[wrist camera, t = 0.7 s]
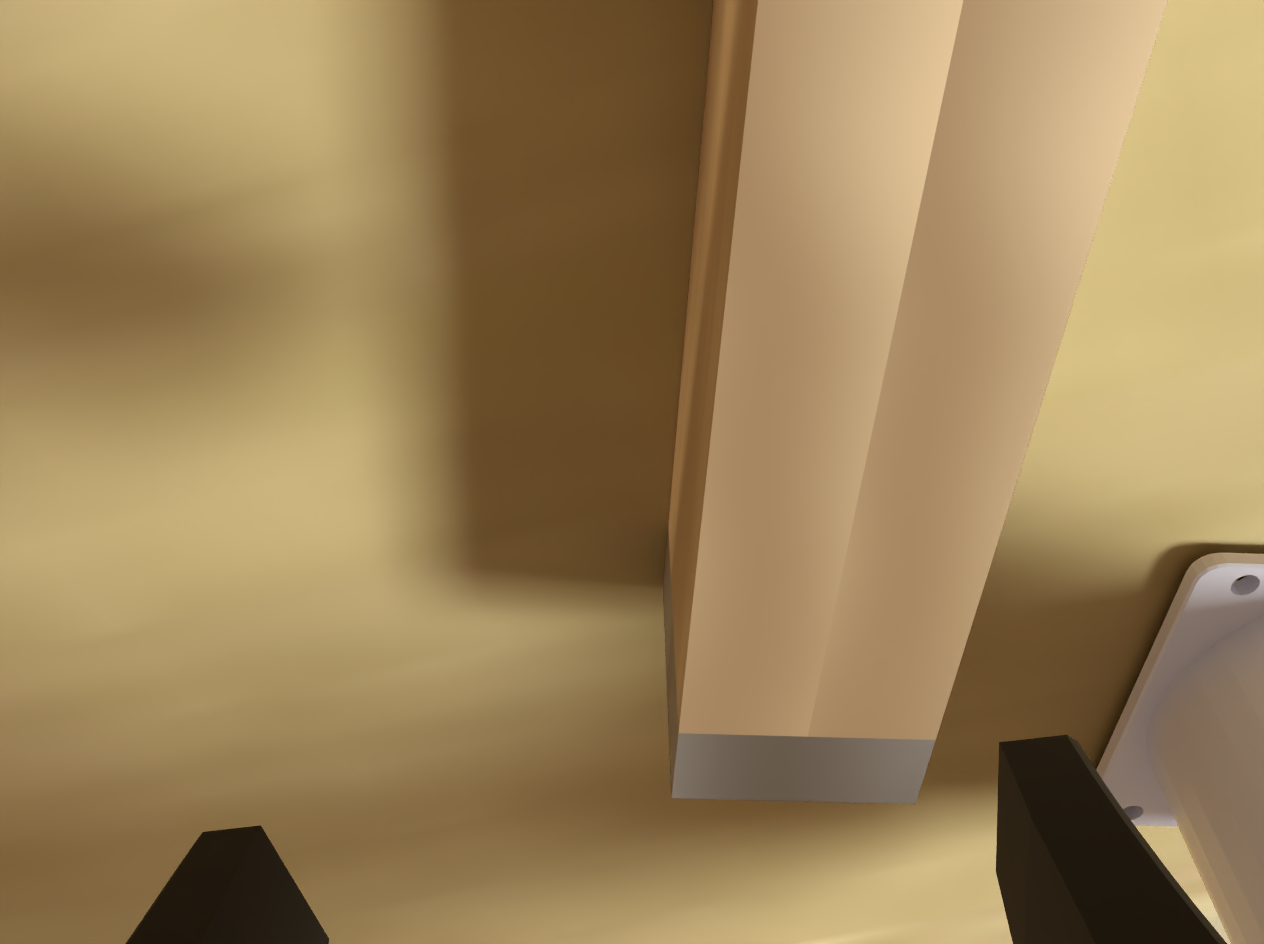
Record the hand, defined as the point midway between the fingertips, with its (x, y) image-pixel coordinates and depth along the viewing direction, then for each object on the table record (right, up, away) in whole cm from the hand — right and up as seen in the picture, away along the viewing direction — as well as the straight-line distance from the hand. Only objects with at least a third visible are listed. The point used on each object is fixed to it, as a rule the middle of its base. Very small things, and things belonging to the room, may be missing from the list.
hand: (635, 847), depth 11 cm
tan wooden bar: (+3, +7, +7) cm, 10 cm away
